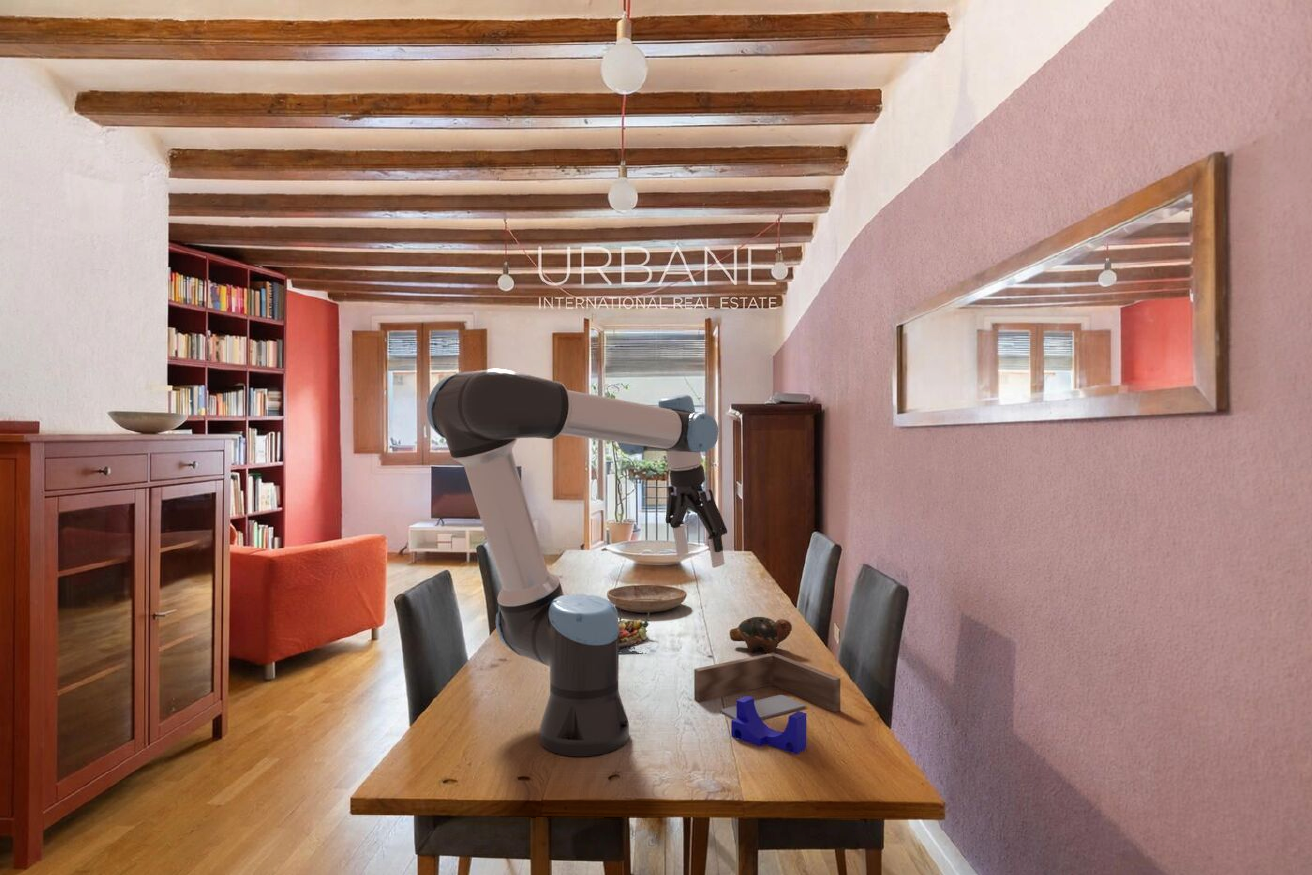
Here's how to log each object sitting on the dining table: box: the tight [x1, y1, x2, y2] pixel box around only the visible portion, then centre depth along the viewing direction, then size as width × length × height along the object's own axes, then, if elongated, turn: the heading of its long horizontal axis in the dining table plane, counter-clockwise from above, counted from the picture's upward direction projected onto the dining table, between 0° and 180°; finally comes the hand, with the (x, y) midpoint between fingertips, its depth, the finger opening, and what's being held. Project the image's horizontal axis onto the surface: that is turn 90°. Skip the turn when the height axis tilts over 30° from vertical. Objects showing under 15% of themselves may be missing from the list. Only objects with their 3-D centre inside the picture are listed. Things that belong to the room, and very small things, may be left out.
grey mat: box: [718, 693, 806, 720], centre depth 138 cm, size 15×7×1 cm, turn 121°
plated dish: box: [618, 612, 650, 656], centre depth 184 cm, size 35×28×7 cm
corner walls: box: [693, 652, 841, 713], centre depth 141 cm, size 20×19×6 cm
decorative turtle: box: [729, 616, 793, 654], centre depth 176 cm, size 10×15×8 cm, turn 73°
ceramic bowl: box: [606, 584, 688, 614], centre depth 218 cm, size 23×24×5 cm
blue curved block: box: [730, 695, 807, 755], centre depth 124 cm, size 12×4×6 cm, turn 47°
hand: (700, 559), depth 163 cm, fingers open, 13 cm apart
